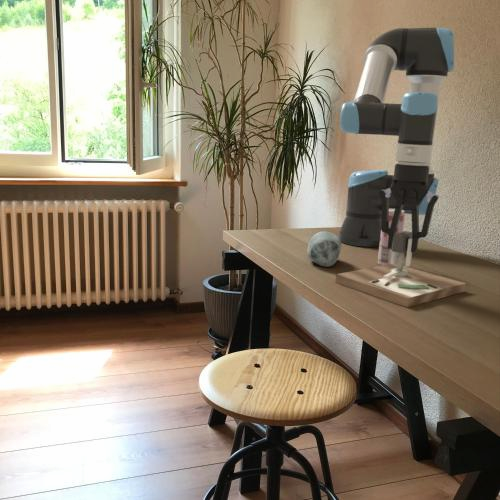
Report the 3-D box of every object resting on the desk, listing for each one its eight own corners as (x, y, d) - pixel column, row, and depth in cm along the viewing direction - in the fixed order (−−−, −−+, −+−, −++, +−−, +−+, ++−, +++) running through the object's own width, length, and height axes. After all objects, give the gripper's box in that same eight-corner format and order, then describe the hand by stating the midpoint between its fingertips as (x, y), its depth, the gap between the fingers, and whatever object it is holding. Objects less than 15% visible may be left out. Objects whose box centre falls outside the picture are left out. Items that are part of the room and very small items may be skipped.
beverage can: (395, 262, 145) (402, 208, 142) (401, 267, 139) (407, 212, 136) (375, 261, 145) (381, 207, 142) (379, 266, 139) (386, 211, 136)
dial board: (393, 270, 136) (394, 261, 135) (464, 291, 121) (466, 281, 120) (335, 282, 123) (336, 272, 122) (407, 307, 107) (408, 296, 107)
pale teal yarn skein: (347, 259, 132) (332, 222, 133) (312, 273, 134) (297, 237, 135) (349, 259, 145) (335, 226, 146) (317, 272, 147) (304, 239, 148)
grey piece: (396, 270, 128) (401, 230, 125) (412, 273, 125) (417, 233, 123) (376, 279, 119) (381, 236, 117) (393, 283, 117) (398, 239, 114)
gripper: (373, 161, 118) (363, 262, 123) (447, 167, 111) (433, 273, 117) (381, 160, 125) (370, 255, 130) (451, 165, 118) (437, 265, 123)
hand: (400, 263), depth 123 cm, fingers closed on grey piece, 3 cm apart
